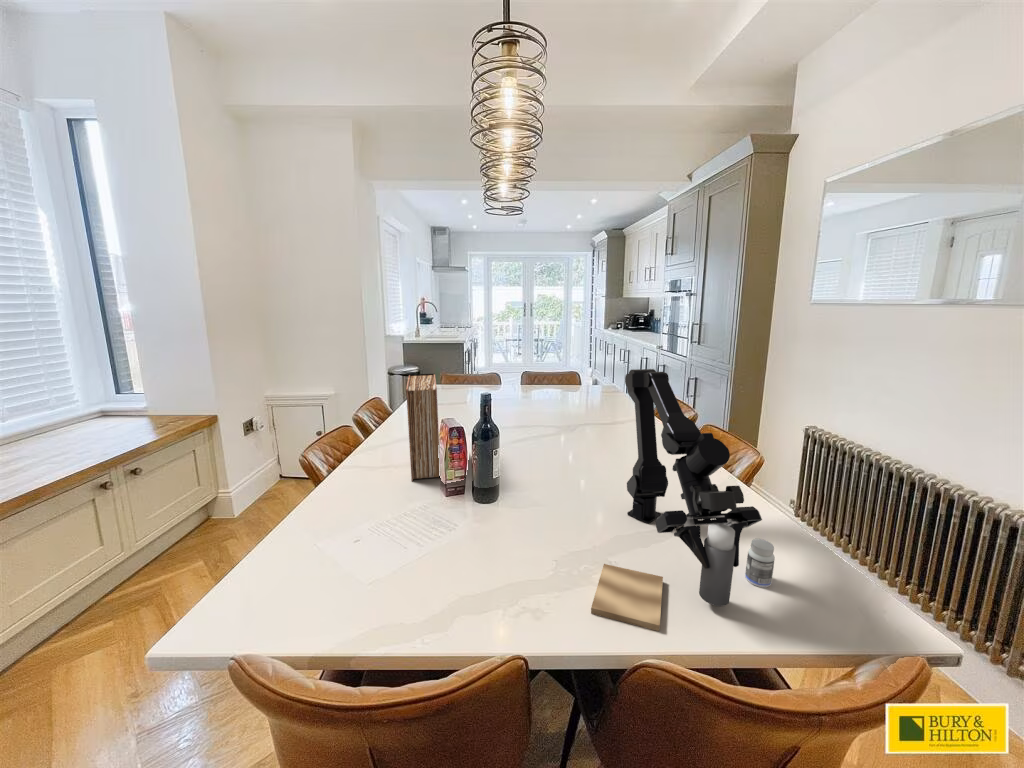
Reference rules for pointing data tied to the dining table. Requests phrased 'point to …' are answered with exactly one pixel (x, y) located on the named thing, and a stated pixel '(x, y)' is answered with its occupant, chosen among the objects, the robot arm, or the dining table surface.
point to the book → (423, 425)
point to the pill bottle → (760, 563)
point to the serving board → (629, 597)
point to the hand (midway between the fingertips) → (722, 567)
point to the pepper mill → (718, 565)
